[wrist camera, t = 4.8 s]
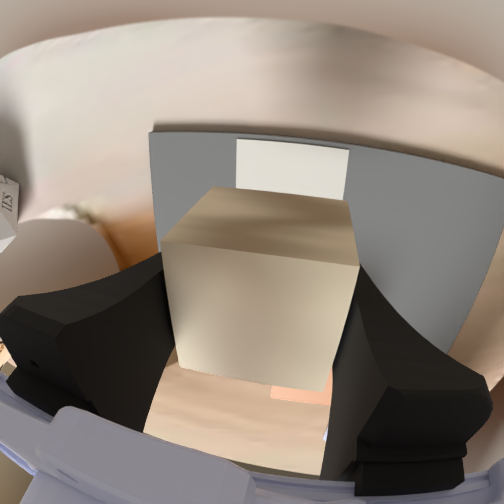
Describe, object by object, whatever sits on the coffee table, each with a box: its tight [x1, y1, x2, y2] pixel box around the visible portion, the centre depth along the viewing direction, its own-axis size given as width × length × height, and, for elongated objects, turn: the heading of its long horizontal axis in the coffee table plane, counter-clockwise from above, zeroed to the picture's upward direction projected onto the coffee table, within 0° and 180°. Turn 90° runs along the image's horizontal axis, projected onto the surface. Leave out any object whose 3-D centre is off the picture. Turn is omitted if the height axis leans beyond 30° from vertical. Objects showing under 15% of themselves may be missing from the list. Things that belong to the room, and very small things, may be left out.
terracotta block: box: [270, 367, 333, 405], centre depth 22 cm, size 5×5×4 cm
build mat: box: [149, 131, 504, 354], centre depth 21 cm, size 24×18×1 cm
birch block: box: [160, 186, 360, 392], centre depth 11 cm, size 5×5×4 cm
